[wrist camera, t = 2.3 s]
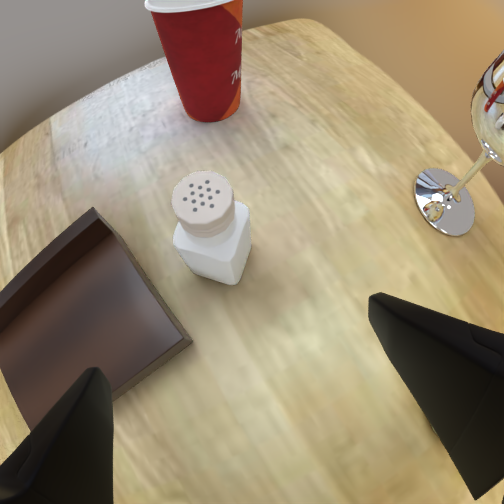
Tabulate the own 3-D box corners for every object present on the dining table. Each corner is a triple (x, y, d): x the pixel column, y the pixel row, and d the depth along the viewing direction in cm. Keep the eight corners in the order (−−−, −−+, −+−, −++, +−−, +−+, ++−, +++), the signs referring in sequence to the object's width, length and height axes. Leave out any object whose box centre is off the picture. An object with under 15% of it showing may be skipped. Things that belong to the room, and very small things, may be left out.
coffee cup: (266, 108, 30) (268, -23, 16) (197, 143, 28) (164, 5, 14) (224, 72, 32) (212, -39, 18) (162, 101, 31) (127, -13, 17)
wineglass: (422, 155, 28) (508, 1, 9) (478, 194, 26) (586, 70, 7) (402, 209, 25) (525, 29, 7) (466, 252, 24) (617, 125, 5)
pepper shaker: (238, 289, 23) (225, 241, 14) (189, 273, 24) (150, 220, 15) (254, 241, 25) (251, 172, 16) (206, 228, 25) (181, 157, 16)
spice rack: (193, 341, 22) (174, 334, 17) (58, 440, 19) (19, 450, 14) (120, 236, 25) (92, 206, 20) (7, 337, 22) (-32, 327, 17)
